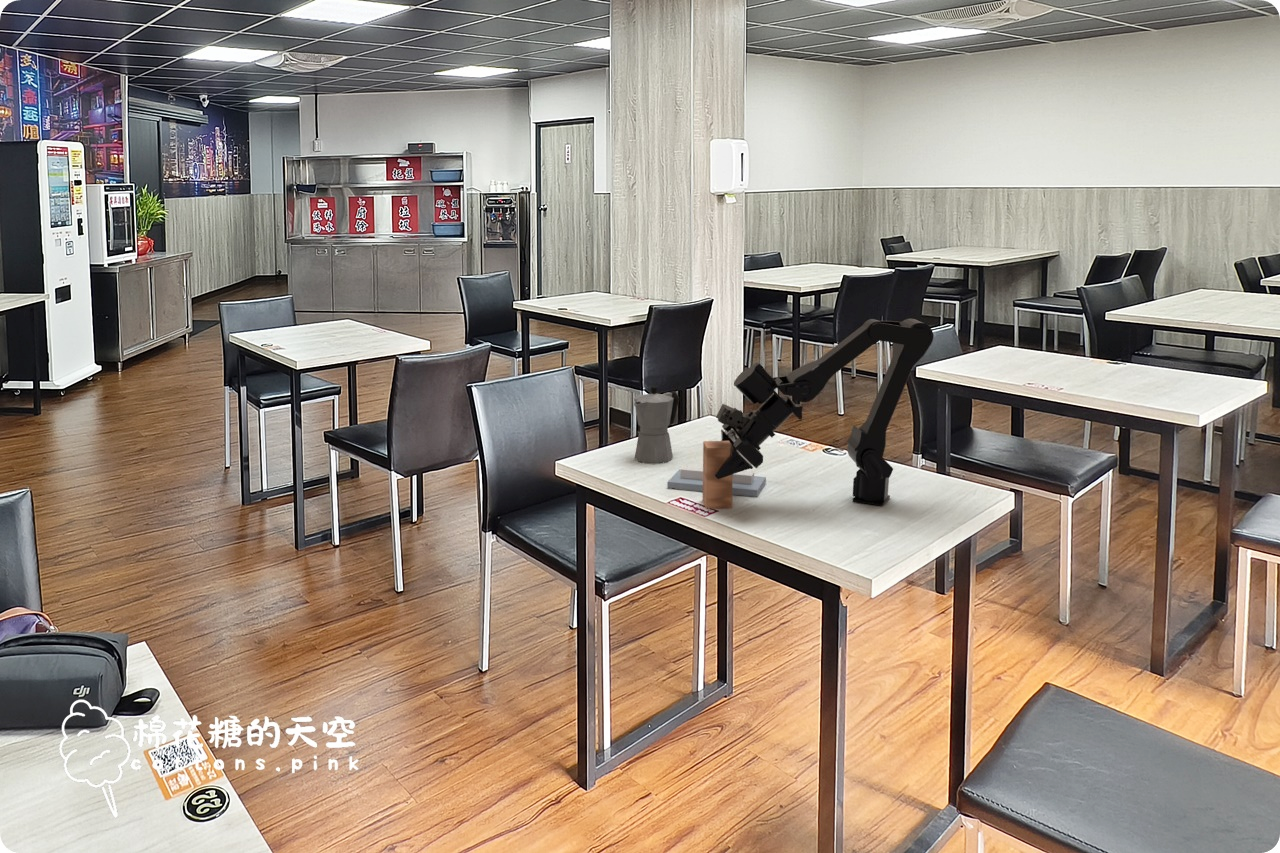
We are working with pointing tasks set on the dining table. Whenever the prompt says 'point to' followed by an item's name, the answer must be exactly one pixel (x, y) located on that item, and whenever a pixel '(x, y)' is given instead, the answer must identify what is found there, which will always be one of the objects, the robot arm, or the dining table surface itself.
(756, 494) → the ridge board
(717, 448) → the cherry block
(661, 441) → the coffeepot
